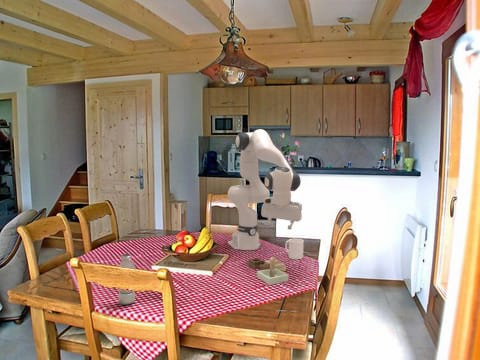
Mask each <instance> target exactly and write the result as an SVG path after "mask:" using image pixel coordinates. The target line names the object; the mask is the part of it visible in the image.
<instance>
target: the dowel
mask: <svg viewBox="0 0 480 360" xmlns="http://www.w3.org/2000/svg"><path fill="white" fill-rule="evenodd" d="M275 259H276V257H274V256H272V257H270V258H269V260H270V278H271V277H275Z"/></svg>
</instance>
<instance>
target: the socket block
mask: <svg viewBox="0 0 480 360" xmlns="http://www.w3.org/2000/svg"><path fill="white" fill-rule="evenodd" d="M247 261H248V263H247V265H248V267H249V268H252V269H253V270H258V269H260V265H263V264H264V261H265V260H263V259H261V258H260V257H255V258H254V257H253V258H248V259H247Z"/></svg>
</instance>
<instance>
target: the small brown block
mask: <svg viewBox="0 0 480 360" xmlns="http://www.w3.org/2000/svg"><path fill="white" fill-rule="evenodd" d="M267 269H270V266H269V265H267V264H263V265H260V268H259V271H262V270H267Z"/></svg>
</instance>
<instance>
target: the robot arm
mask: <svg viewBox="0 0 480 360" xmlns="http://www.w3.org/2000/svg"><path fill="white" fill-rule="evenodd" d="M235 147H236V149H238V150H239V151H240V159H239V161H240V163H239V174H240V176H241V177H242V178H243V179H245V180H246V181H247V182H249V184H237V185H231V186H230V187H229V188H228V191H227V197H228V200H229V201H230V203H233V204H234V206H235V207H236V209H237V212H238V222H239V223H238V224H237V229H236V231H234V232H233V233H232V235H231V238H230V239H231V240H229V241H227V244H228V245H230V246H231V248H233V249H234V250H242V251H252V250H253V251H254V250H257V249H259V248H260V247H261V243H260V236H259V232H258V229H259V227H258V212H257V211H256V210H255V209H253V208H251V207H249V206H248V204H259V203H261V204H262V203H263V204H262V206H261V211H260V212H261V213H260V215H261V216H262V218H267V220H268V223H269V227H271V228H272V227H273V228H274V227H275V222H273V221H272V220H273V219H274V220H275V219H277V220H284V221H288V222H289V225H287V230H292V227H293V225H294V223H295V222H300V221H301V220H302V219H303V217H302V210H303V205H302V204H301V203H300V202H298V201H293V200H292V192H296V191H297V190H298V188H299V187H300V186H301V181H302V179H301V177H300V175H299V173H297V172H296V170H295V169H294V167H293V166H292V164H291V163H290V162H289V160H288V158H287V157H286V155H285V153H284V152H283V151H281V150H279V149H278V148H277V147H276V145H275V144H274V143H273V137H272V135H271V134H270V133H268V132H267V131H266V130H264V129H261V128H259V129H256V130H254V131H252V132H245V131H244V132H239V133H238V134H237V135H236V138H235ZM259 160H260V161H262V162H265V163H266V162H267V163H271V164H274V165H276V166H277V167H275V169H274V170H273V171H270V172H268V173H267V174H266V175H265V176H264V181H262V180H261V178H260V175H259ZM270 191H271V192H273V193H272V195H270V194H271V193H270Z"/></svg>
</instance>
